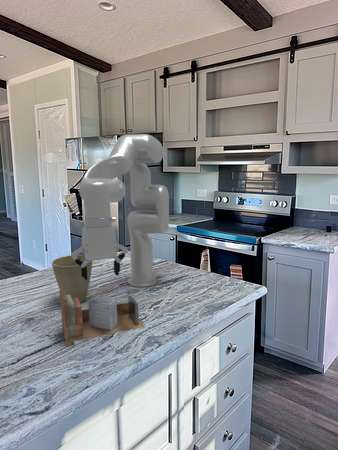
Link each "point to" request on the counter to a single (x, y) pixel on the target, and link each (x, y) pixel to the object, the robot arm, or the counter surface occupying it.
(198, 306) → the counter surface
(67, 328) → the rack
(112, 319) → the medicine box
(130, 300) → the bookend
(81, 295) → the plant pot
